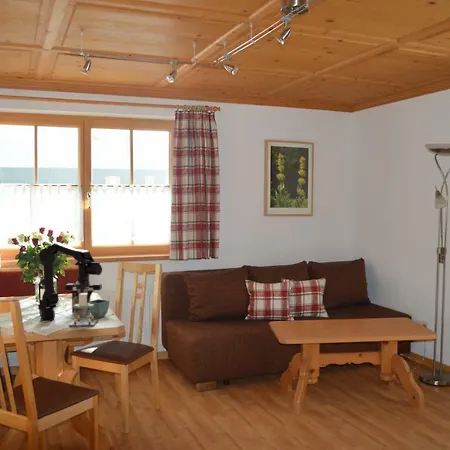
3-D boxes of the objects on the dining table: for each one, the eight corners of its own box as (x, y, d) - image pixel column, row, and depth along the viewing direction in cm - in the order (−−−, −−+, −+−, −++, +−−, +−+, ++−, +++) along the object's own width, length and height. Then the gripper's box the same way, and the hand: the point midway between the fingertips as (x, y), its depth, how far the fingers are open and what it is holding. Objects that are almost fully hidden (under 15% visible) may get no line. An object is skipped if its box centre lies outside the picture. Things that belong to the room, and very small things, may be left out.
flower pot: (99, 318, 312) (98, 303, 312) (87, 317, 317) (87, 301, 316) (109, 316, 320) (109, 300, 319) (98, 314, 324) (98, 299, 324)
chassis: (68, 326, 293) (68, 320, 292) (75, 321, 306) (74, 314, 305) (93, 326, 293) (93, 320, 293) (98, 321, 306) (98, 314, 306)
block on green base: (72, 308, 294) (71, 295, 293) (76, 304, 304) (76, 292, 303) (90, 308, 294) (90, 295, 293) (95, 305, 304) (95, 292, 303)
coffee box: (71, 313, 325) (71, 286, 325) (79, 311, 331) (79, 285, 330) (83, 315, 321) (83, 287, 320) (90, 313, 327) (90, 286, 326)
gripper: (62, 275, 290) (62, 305, 290) (97, 276, 290) (97, 305, 291) (67, 273, 301) (67, 301, 302) (102, 273, 301) (102, 301, 302)
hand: (83, 302), depth 299 cm, fingers closed on block on green base, 4 cm apart
